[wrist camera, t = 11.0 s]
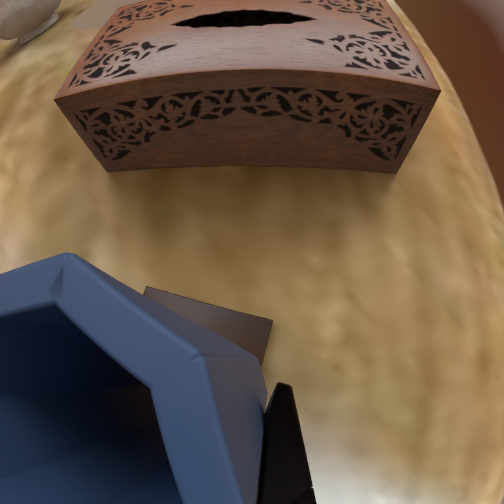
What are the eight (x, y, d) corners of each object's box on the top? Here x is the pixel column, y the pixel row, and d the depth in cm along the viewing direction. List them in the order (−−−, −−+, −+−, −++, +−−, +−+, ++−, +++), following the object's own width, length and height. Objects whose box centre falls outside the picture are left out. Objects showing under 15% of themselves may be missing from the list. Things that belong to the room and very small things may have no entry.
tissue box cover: (107, 171, 26) (53, 99, 16) (144, 73, 31) (118, 7, 21) (396, 173, 24) (441, 90, 15) (367, 71, 29) (385, -1, 19)
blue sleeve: (273, 418, 14) (282, 605, 2) (185, 434, 14) (-2, 554, 1) (252, 332, 15) (178, 217, 3) (165, 350, 15) (-63, 296, 3)
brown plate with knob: (235, 457, 18) (227, 479, 14) (117, 415, 19) (88, 423, 15) (272, 322, 21) (273, 313, 17) (152, 289, 22) (128, 274, 18)
